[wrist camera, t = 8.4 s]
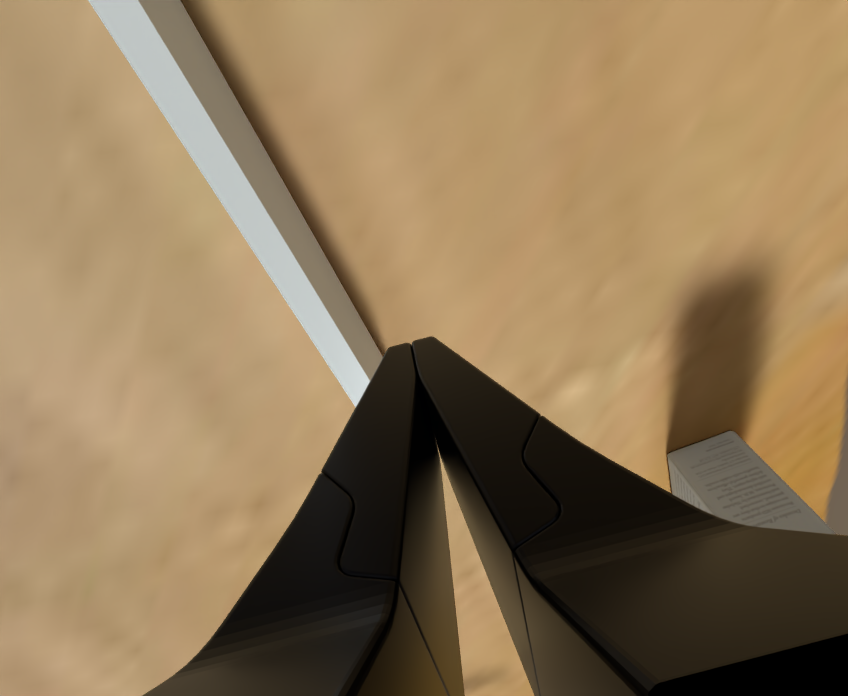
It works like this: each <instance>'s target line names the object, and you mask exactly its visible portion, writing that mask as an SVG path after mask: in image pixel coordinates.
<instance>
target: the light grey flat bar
mask: <svg viewBox="0 0 848 696" xmlns="http://www.w3.org/2000/svg"><path fill="white" fill-rule="evenodd" d="M88 1H89V2H90V4H91V5H92V7H93V8H94V10H95V11H96V13H97V14H98V16H99V18H100V19H101V21H102V22H103V24H104V25H105V27H106V28H107V30H108V31H109V33H110V34H111V36H112V37H113V39H114V40H115V42H116V43H117V45H118V46H119V48H120V49H121V51H122V52H123V54H124V56H125V57H126V59H127V60H128V62H129V63H130V65H131V66H132V68H133V69H134V71H135V72H136V74H137V75H138V77H139V78H140V80H141V81H142V83H143V84H144V86H145V87H146V89H147V91H148V92H149V94H150V95H151V97H152V98H153V100H154V101H155V103H156V104H157V106H158V107H159V109H160V110H161V112H162V113H163V115H164V116H165V118H166V119H167V121H168V122H169V124H170V125H171V127H172V129H173V130H174V132H175V133H176V135H177V136H178V138H179V139H180V141H181V142H182V144H183V145H184V147H185V148H186V150H187V151H188V153H189V154H190V156H191V157H192V159H193V160H194V162H195V164H196V165H197V167H198V168H199V170H200V171H201V173H202V174H203V176H204V177H205V179H206V180H207V182H208V183H209V185H210V186H211V188H212V189H213V191H214V192H215V194H216V195H217V197H218V198H219V200H220V202H221V203H222V205H223V206H224V208H225V209H226V211H227V212H228V214H229V215H230V217H231V218H232V220H233V221H234V223H235V224H236V226H237V227H238V229H239V230H240V232H241V233H242V235H243V236H244V238H245V240H246V241H247V243H248V244H249V246H250V247H251V249H252V250H253V252H254V253H255V255H256V256H257V258H258V259H259V261H260V262H261V264H262V265H263V267H264V268H265V270H266V271H267V273H268V275H269V276H270V278H271V279H272V281H273V282H274V284H275V285H276V287H277V288H278V290H279V291H280V293H281V294H282V296H283V297H284V299H285V300H286V302H287V303H288V305H289V306H290V308H291V309H292V311H293V313H294V314H295V316H296V317H297V319H298V320H299V322H300V323H301V325H302V326H303V328H304V329H305V331H306V332H307V334H308V335H309V337H310V338H311V340H312V341H313V343H314V344H315V346H316V348H317V349H318V351H319V352H320V354H321V355H322V357H323V358H324V360H325V361H326V363H327V364H328V366H329V367H330V369H331V370H332V372H333V373H334V375H335V376H336V378H337V379H338V381H339V382H340V384H341V386H342V387H343V389H344V390H345V392H346V393H347V395H348V396H349V398H350V399H351V401H352V402H353V404H354V405H355V407H356V406H357V404H358V402H359V401H360V399H361V397H362V395H363V393H364V391H365V390H366V388H367V386H368V384H369V382H370V380H371V379H372V377H373V375H374V373H375V371H376V369H377V367H378V366H379V364H380V362H381V360H382V358H383V356H382V355H381V353H380V351H379V349H378V348H377V346H376V344H375V342H374V341H373V339H372V337H371V335H370V333H369V332H368V330H367V328H366V326H365V325H364V323H363V321H362V319H361V318H360V316H359V314H358V312H357V311H356V309H355V307H354V305H353V304H352V302H351V300H350V298H349V297H348V295H347V293H346V291H345V289H344V288H343V286H342V284H341V282H340V281H339V279H338V277H337V275H336V274H335V272H334V270H333V268H332V267H331V265H330V263H329V261H328V260H327V258H326V256H325V254H324V252H323V251H322V249H321V247H320V245H319V244H318V242H317V240H316V238H315V237H314V235H313V233H312V231H311V230H310V228H309V226H308V224H307V223H306V221H305V219H304V217H303V215H302V214H301V212H300V210H299V208H298V207H297V205H296V203H295V201H294V200H293V198H292V196H291V194H290V193H289V191H288V189H287V187H286V186H285V184H284V182H283V180H282V179H281V177H280V175H279V173H278V171H277V170H276V168H275V166H274V164H273V163H272V161H271V159H270V157H269V156H268V154H267V152H266V150H265V149H264V147H263V145H262V143H261V142H260V140H259V138H258V136H257V134H256V133H255V131H254V129H253V127H252V126H251V124H250V122H249V120H248V119H247V117H246V115H245V113H244V112H243V110H242V108H241V106H240V105H239V103H238V101H237V99H236V97H235V96H234V94H233V92H232V90H231V89H230V87H229V85H228V83H227V82H226V80H225V78H224V76H223V75H222V73H221V71H220V69H219V68H218V66H217V64H216V62H215V61H214V59H213V57H212V55H211V53H210V52H209V50H208V48H207V46H206V45H205V43H204V41H203V39H202V38H201V36H200V34H199V32H198V31H197V29H196V27H195V25H194V24H193V22H192V20H191V18H190V16H189V15H188V13H187V11H186V9H185V8H184V6H183V4H182V2H181V1H180V0H88Z"/></svg>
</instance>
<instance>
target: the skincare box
mask: <svg viewBox="0 0 848 696" xmlns="http://www.w3.org/2000/svg"><path fill="white" fill-rule="evenodd" d="M667 457H668V464H669V472H670V480H671V487H672V494H673V495H675V496H677V497H679V498H680V499H682V500H684V501H686V502H688V503H689V504H691V505H693V506H695V507H697V508H699V509H701V510H703V511H705V512H708V513H710V514H713V515H715V516H717V517H720V518H723V519H726V520H729V521H732V522H735V523H739V524H743V525H748V526H755V527H763V528H774V529H784V530H795V531H805V532H816V533H826V534H836V533H835V532H834V531H833V530H832V529H831V528H830V527H829V526H828V525H827V524H826V523H825V522H824V521H823V520H822V519H821V518H820V517H819V516H818V515H817V514H816V513H815V512H814V511H813V510H812V509H811V508H810V507H809V506H808V505H807V504H806V503H805V502H804V501H803V500H802V499H801V498H800V497H799V496H798V495H797V494H796V493H795V492H794V491H793V490H792V489H791V488H790V487H789V486H788V485H787V484H786V483H785V482H784V481H783V480H782V479H781V478H780V477H779V476H778V475H777V474H776V473H775V472H774V471H773V470H772V469H771V468H770V467H769V466H768V465H767V464H766V463H765V462H764V461H763V460H762V459H761V458H760V457H759V456H758V454H757V453H755V452H754V451H753V450H752V449H751V448H750V447H749V446H748V445H747V444H746V443H745V442H744V441H743V440H742V439H741V438H740V437H739V436H738V435H737V433H735V432H734V431H727V432H725V433H722V434H720V435H717V436H714V437H712V438H709V439H706V440H704V441H701V442H698V443H695V444H693V445H690V446H687V447H684V448H681V449H678V450H676V451H673V452H671V453H669V454H668V455H667ZM836 535H837V534H836Z"/></svg>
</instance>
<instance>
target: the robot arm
mask: <svg viewBox="0 0 848 696" xmlns="http://www.w3.org/2000/svg"><path fill="white" fill-rule="evenodd" d="M435 438H436V439H435ZM436 442H437V443H436ZM437 446H438V447H437ZM438 449H439V452H438ZM439 453H440V456H441V459H442V462H443V465H444V468H445V470H446V473H447V475H448V478H449V480H450V483H451V485H452V488H453V490H454V493H455V495H456V498H457V500H458V503H459V506H460V508H461V511H462V513H463V516H464V518H465V521H466V523H467V526H468V528H469V531H470V533H471V536H472V538H473V541H474V543H475V546H476V549H477V551H478V554H479V556H480V559H481V561H482V564H483V566H484V569H485V571H486V574H487V576H488V579H489V581H490V584H491V587H492V589H493V592H494V594H495V597H496V599H497V602H498V604H499V607H500V609H501V612H502V614H503V617H504V619H505V622H506V624H507V627H508V630H509V632H510V635H511V637H512V640H513V642H514V645H515V647H516V650H517V652H518V655H519V657H520V660H521V662H522V665H523V668H524V670H525V673H526V675H527V678H528V680H529V683H530V685H531V688H532V690H533V693H534V695H535V696H848V536H846V535H836V534H826V533H816V532H805V531H795V530H784V529H774V528H763V527H755V526H748V525H743V524H739V523H735V522H732V521H729V520H726V519H723V518H720V517H717V516H715V515H713V514H710V513H708V512H705V511H703V510H701V509H699V508H697V507H695V506H693V505H691V504H689V503H688V502H686V501H684V500H682V499H680V498H679V497H677V496H675V495H673V494H671V493H670V492H668V491H666V490H664V489H662V488H660V487H659V486H657V485H655V484H653V483H651V482H650V481H648V480H646V479H644V478H642V477H641V476H639V475H637V474H635V473H633V472H632V471H630V470H628V469H626V468H624V467H623V466H621V465H619V464H617V463H615V462H614V461H612V460H610V459H608V458H607V457H605V456H603V455H602V454H600V453H598V452H596V451H595V450H593V449H591V448H590V447H588V446H586V445H585V444H583V443H581V442H580V441H578V440H577V439H575V438H574V437H572V436H571V435H569V434H568V433H566V432H565V431H563V430H562V429H561V428H559V427H558V426H556V425H555V424H553V423H552V422H551V421H549V420H548V419H547V418H545V417H544V416H541V415H540V414H539V413H538V412H537V411H535V410H534V409H533V408H531V407H530V406H528V405H527V404H526V403H524V402H523V401H522V400H520V399H519V398H517V397H516V396H515V395H513V394H512V393H511V392H509V391H508V390H506V389H505V388H504V387H502V386H501V385H499V384H498V383H497V382H495V381H494V380H493V379H491V378H490V377H488V376H487V375H486V374H484V373H483V372H482V371H480V370H479V369H477V368H476V367H475V366H473V365H472V364H471V363H469V362H468V361H466V360H465V359H464V358H462V357H461V356H460V355H458V354H457V353H455V352H454V351H453V350H451V349H450V348H448V347H447V346H446V345H444V344H443V343H442V342H440V341H439V340H437V339H436V338H435V337H432V336H431V337H426V338H423V339H419V340H415V341H413V342H412V346H411V344H410V343H404V344H400V345H396V346H392V347H389V348H388V349H387V351H386V353H385V355H384V356H383V358H382V360H381V362H380V364H379V366H378V367H377V369H376V371H375V373H374V375H373V377H372V379H371V380H370V382H369V384H368V386H367V388H366V390H365V391H364V393H363V395H362V397H361V399H360V401H359V402H358V404H357V406H356V408H355V410H354V412H353V413H352V415H351V417H350V419H349V421H348V423H347V424H346V426H345V428H344V430H343V432H342V434H341V435H340V437H339V439H338V441H337V443H336V445H335V446H334V448H333V450H332V452H331V454H330V456H329V458H328V459H327V461H326V463H325V465H324V467H323V469H322V471H321V472H322V473H321V474H319V475H318V477H317V479H316V481H315V483H314V485H313V486H312V488H311V490H310V492H309V494H308V495H307V497H306V499H305V500H304V502H303V504H302V506H301V507H300V509H299V511H298V512H297V514H296V516H295V518H294V519H293V521H292V522H291V524H290V525H289V527H288V528H287V530H286V531H285V533H284V534H283V536H282V537H281V539H280V540H279V542H278V543H277V545H276V546H275V548H274V549H273V551H272V552H271V554H270V555H269V557H268V558H267V559H266V561H265V562H264V564H263V565H262V567H261V568H260V569H259V571H258V572H257V574H256V575H255V577H254V578H253V580H252V581H251V582H250V584H249V585H248V587H247V588H246V590H245V591H244V592H243V594H242V595H241V597H240V598H239V600H238V601H237V603H236V604H235V605H234V607H233V608H232V610H231V611H230V613H229V614H228V615H227V617H226V618H225V620H224V621H223V623H222V624H221V626H220V627H219V628H218V630H217V631H216V632H215V634H214V635H213V636H212V638H211V639H210V640H209V641H208V642H207V644H206V645H205V646H204V647H203V648H202V649H201V650H200V652H199V653H198V654H197V655H196V656H195V657H194V658H193V659H192V660H191V661H190V662H189V663H188V664H187V665H185V666H184V667H183V668H182V669H181V670H179V671H178V672H177V673H176V674H174V675H173V676H172V677H170V678H169V679H167V680H166V681H164V682H163V683H161V684H160V685H158V686H157V687H155V688H154V689H152V690H150V691H149V692H147V693H146V694H144V695H143V696H465V695H464V685H463V676H462V666H461V656H460V647H459V637H458V627H457V618H456V608H455V598H454V588H453V579H452V569H451V559H450V550H449V540H448V530H447V521H446V511H445V501H444V492H443V482H442V472H441V464H440V457H439Z"/></svg>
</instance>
